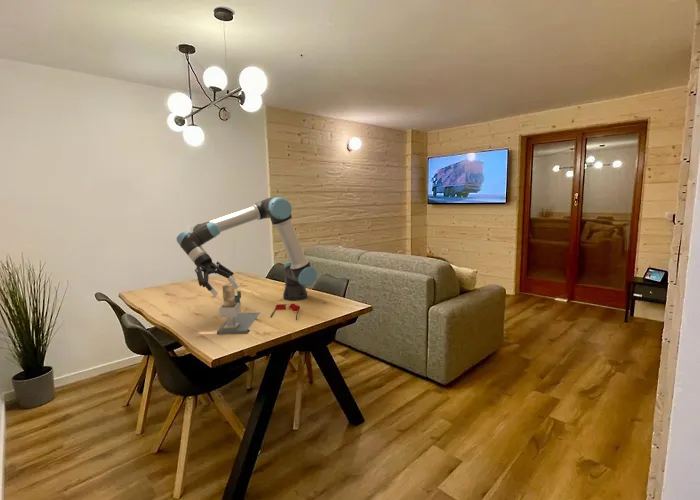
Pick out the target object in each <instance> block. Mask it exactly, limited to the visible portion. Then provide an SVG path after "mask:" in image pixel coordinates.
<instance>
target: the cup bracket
mask: <svg viewBox="0 0 700 500" xmlns="http://www.w3.org/2000/svg"><path fill="white" fill-rule="evenodd" d="M235 305H236V306H235V307H224V303H223V304H222V305H220V306H219V308H218V311H219V313H218V314H219V318H226V321H227V324H226V325H225V326H224V327H223V329H236V328H237V327H238V326H239V324H240V323H235V317H237V316H238V314H239V313H242V311H241V302H240V303H235Z"/></svg>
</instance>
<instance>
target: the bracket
mask: <svg viewBox="0 0 700 500" xmlns="http://www.w3.org/2000/svg"><path fill="white" fill-rule="evenodd" d="M236 294H237V295H236ZM236 294H235V303H240V304H241V300H240V299H241V298H242V293H241V290H237V292H236Z"/></svg>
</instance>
